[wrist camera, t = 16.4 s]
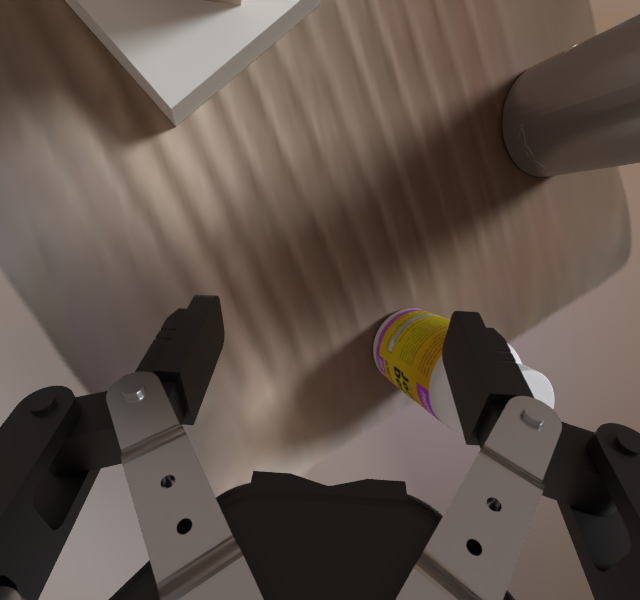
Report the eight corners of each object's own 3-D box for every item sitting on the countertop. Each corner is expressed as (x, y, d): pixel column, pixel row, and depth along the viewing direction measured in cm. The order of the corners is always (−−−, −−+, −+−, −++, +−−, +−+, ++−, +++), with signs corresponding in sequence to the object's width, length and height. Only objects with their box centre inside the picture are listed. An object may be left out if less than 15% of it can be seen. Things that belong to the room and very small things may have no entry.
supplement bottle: (354, 349, 32) (448, 422, 20) (407, 290, 32) (529, 327, 20) (403, 395, 34) (514, 486, 22) (452, 339, 35) (586, 399, 22)
